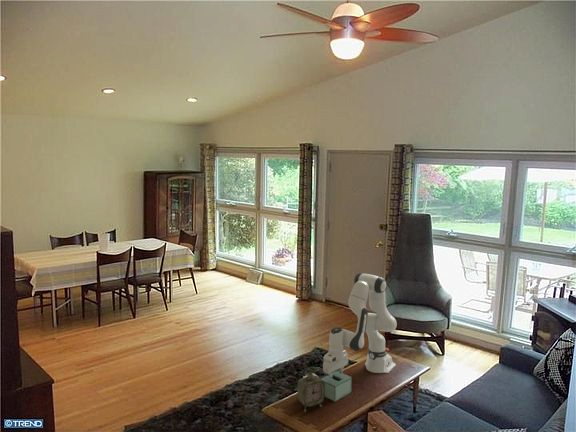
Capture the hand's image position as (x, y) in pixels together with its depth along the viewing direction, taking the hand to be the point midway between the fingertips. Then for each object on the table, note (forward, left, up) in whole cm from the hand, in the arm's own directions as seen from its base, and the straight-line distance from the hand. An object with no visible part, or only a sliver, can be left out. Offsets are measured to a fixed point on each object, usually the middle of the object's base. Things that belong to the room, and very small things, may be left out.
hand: (335, 375), depth 280 cm
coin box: (0, 0, -12) cm, 12 cm away
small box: (+14, -8, -12) cm, 20 cm away
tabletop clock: (+23, 0, -12) cm, 26 cm away
